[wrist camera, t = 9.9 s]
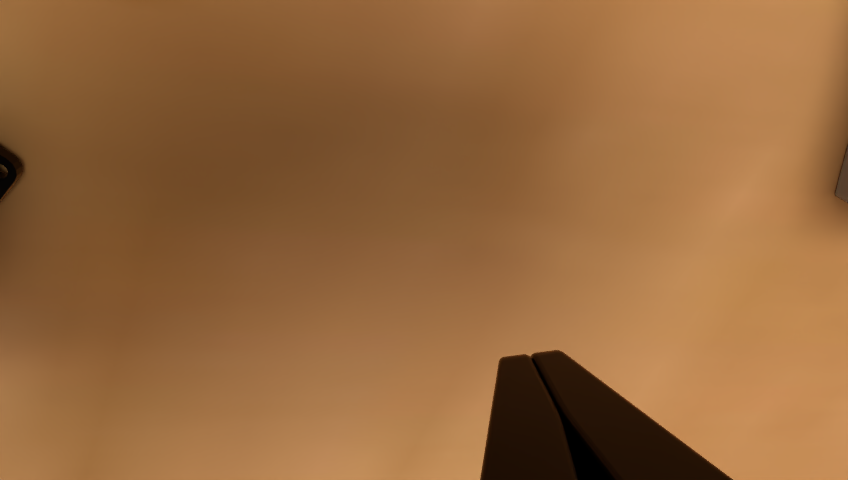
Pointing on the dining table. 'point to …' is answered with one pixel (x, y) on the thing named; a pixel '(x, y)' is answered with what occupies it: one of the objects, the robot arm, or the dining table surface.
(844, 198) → the box
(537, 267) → the dining table surface
